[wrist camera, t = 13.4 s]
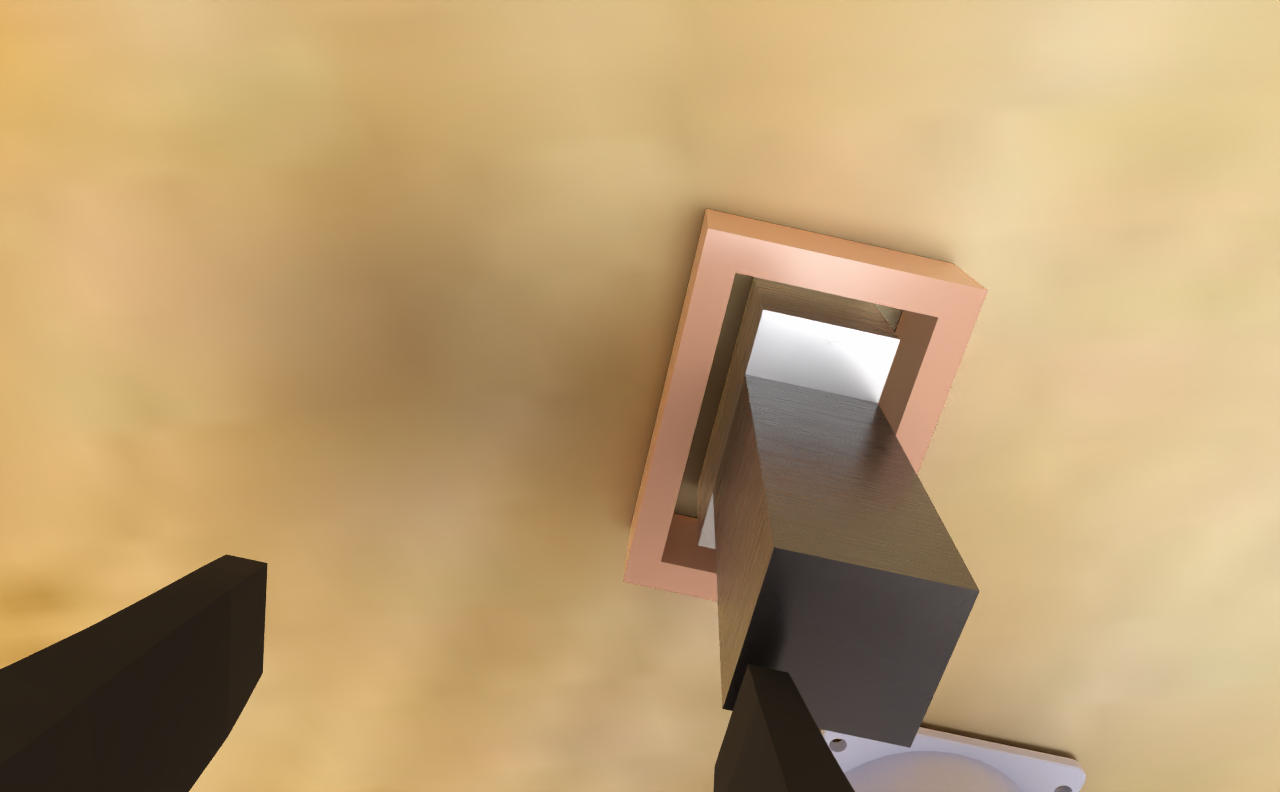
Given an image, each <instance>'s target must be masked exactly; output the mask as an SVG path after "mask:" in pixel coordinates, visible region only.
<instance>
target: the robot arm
mask: <svg viewBox="0 0 1280 792" xmlns="http://www.w3.org/2000/svg"><path fill="white" fill-rule="evenodd" d="M266 583H267V563H264V562H259V561H254V560H250V559H245V558H240V557H235V556H231V555H225V556H223V557H221V558H219V559H217V560H214V561H213V562H211V563H209V564H207V565H205V566H203V567H201V568H199V569H197V570H196V571H194V572H192V573H190V574H188V575H186V576H184V577H183V578H181V579H179V580H177V581H175V582H173V583H172V584H170V585H168V586H166V587H164V588H162V589H161V590H159V591H157V592H155V593H153V594H151V595H149V596H148V597H146V598H144V599H142V600H140V601H138V602H136V603H134V604H132V605H131V606H129V607H127V608H125V609H123V610H121V611H119V612H117V613H115V614H113V615H111V616H110V617H108V618H106V619H104V620H102V621H100V622H98V623H96V624H94V625H92V626H90V627H88V628H86V629H84V630H82V631H80V632H78V633H76V634H74V635H72V636H70V637H68V638H66V639H63V640H61V641H59V642H57V643H55V644H53V645H51V646H49V647H47V648H45V649H43V650H40V651H38V652H36V653H34V654H32V655H30V656H28V657H26V658H24V659H22V660H20V661H17V662H15V663H13V664H11V665H9V666H7V667H4V668H2V669H0V792H189V791H190V789H191V788H192V786H193V785H194V784H195V782H196V781H197V779H198V778H199V777H200V775H201V774H202V772H203V771H204V770H205V768H206V767H207V765H208V764H209V763H210V761H211V760H212V758H213V757H214V755H215V754H216V753H217V751H218V750H219V748H220V747H221V745H222V744H223V743H224V741H225V740H226V738H227V737H228V735H229V733H230V732H231V730H232V728H233V726H234V725H235V723H236V721H237V719H238V718H239V716H240V714H241V712H242V710H243V709H244V707H245V705H246V703H247V701H248V699H249V698H250V696H251V694H252V692H253V690H254V688H255V686H256V684H257V682H258V681H259V679H260V677H261V675H262V673H263V653H264V629H265V606H266ZM834 739H843V740H841V741H839V742H832V740H834ZM1085 780H1086V774H1085V772H1084V770H1083V768H1082V766H1081V764H1080V763H1079V762H1078V761H1076V760H1073V759H1070V758H1065V757H1061V756H1056V755H1051V754H1046V753H1042V752H1037V751H1032V750H1027V749H1022V748H1018V747H1013V746H1008V745H1003V744H999V743H994V742H989V741H984V740H979V739H975V738H970V737H965V736H960V735H955V734H951V733H946V732H941V731H936V730H932V729H927V728H922V727H919V729H918V732H917V734H916V736H915V739H914V741H913V743H912V745H911V748H908V747H904V746H899V745H894V744H889V743H884V742H880V741H875V740H870V739H865V738H861V737H856V736H851V735H846V734H841V733H837V732H832V731H827V730H821V732H820V730H819V728H818V726H817V724H816V722H815V721H814V719H813V717H812V715H811V713H810V711H809V709H808V707H807V706H806V704H805V702H804V700H803V698H802V696H801V694H800V692H799V690H798V688H797V687H796V685H795V683H794V681H793V679H792V678H791V676H790V674H789V673H788V672H783V671H779V670H774V669H769V668H764V667H760V666H755V665H750V664H748V666H747V669H746V672H745V675H744V678H743V681H742V684H741V687H740V690H739V694H738V697H737V700H736V703H735V706H734V709H733V712H732V715H731V718H730V721H729V724H728V727H727V731H726V734H725V737H724V740H723V743H722V746H721V749H720V752H719V755H718V758H717V761H716V764H715V774H714V792H1080V790H1081V788H1082V787H1083V785H1084V783H1085ZM1060 786H1063V787H1060ZM1057 787H1060V788H1057Z"/></svg>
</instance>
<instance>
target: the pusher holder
mask: <svg viewBox="0 0 1280 792" xmlns="http://www.w3.org/2000/svg"><path fill="white" fill-rule="evenodd" d="M735 273H739V274H744V275H748V276H753V277H757V278H762V279H766V280H771V281H775V282H780V283H784V284H789V285H793V286H798V287H802V288H807V289H811V290H816V291H821V292H825V293H830V294H834V295H839V296H843V297H848V298H852V299H857V300H861V301H866V302H870V303H875V304H879V305H884V306H888V307H893V308H897V309H902V310H903V311H902V314H901V317H900V320H899V323H898V326H897V329H896V332H895V333H896V335H897V336H898V337H899V339H900V342H899V345H898V348H897V350H896V353H895V356H894V359H893V362H892V365H891V368H890V371H889V373H888V376H887V379H886V382H885V385H884V388H883V391H882V394H881V396H880V399H879V402H878V404H879V405H880V407H881V409H882V411H883V413H884V415H885V417H886V418H887V420H888V422H889V424H890V426H891V428H892V430H893V431H894V433H895V435H896V437H897V439H898V441H899V443H900V444H901V446H902V448H903V450H904V452H905V454H906V456H907V457H908V459H909V461H910V463H911V465H912V467H913V469H914V470H915V472H916V474H917V475H918V472H919V469H920V467H921V464H922V461H923V459H924V456H925V454H926V451H927V448H928V446H929V443H930V441H931V438H932V435H933V433H934V430H935V427H936V425H937V422H938V420H939V417H940V414H941V412H942V409H943V406H944V404H945V401H946V399H947V396H948V393H949V391H950V388H951V385H952V383H953V380H954V378H955V375H956V372H957V370H958V367H959V364H960V362H961V359H962V357H963V354H964V351H965V349H966V346H967V343H968V341H969V338H970V336H971V333H972V330H973V328H974V325H975V323H976V320H977V317H978V315H979V312H980V309H981V307H982V304H983V302H984V299H985V296H986V294H987V291H988V290H987V289H985V288H984V287H983V286H982V285H980V284H979V283H978V282H976V281H975V280H974V279H973V278H971V277H970V276H969V275H967V274H966V273H965V272H964V271H962V270H961V269H960V268H958V267H957V266H956V265H955V264H953V263H948V262H944V261H939V260H935V259H930V258H926V257H921V256H917V255H912V254H908V253H903V252H899V251H894V250H890V249H885V248H881V247H876V246H872V245H867V244H863V243H858V242H854V241H849V240H845V239H840V238H836V237H831V236H827V235H822V234H818V233H813V232H809V231H804V230H800V229H795V228H791V227H786V226H782V225H777V224H773V223H768V222H764V221H759V220H755V219H750V218H746V217H741V216H737V215H732V214H728V213H723V212H719V211H714V210H710V209H706V212H705V216H704V220H703V225H702V229H701V233H700V237H699V241H698V246H697V250H696V254H695V258H694V262H693V267H692V271H691V275H690V279H689V284H688V288H687V292H686V296H685V300H684V305H683V309H682V313H681V317H680V321H679V326H678V330H677V334H676V338H675V342H674V347H673V351H672V355H671V359H670V363H669V368H668V372H667V376H666V380H665V385H664V389H663V393H662V397H661V401H660V406H659V410H658V414H657V418H656V422H655V427H654V431H653V435H652V439H651V443H650V448H649V452H648V456H647V460H646V464H645V469H644V473H643V477H642V481H641V486H640V490H639V494H638V498H637V502H636V507H635V511H634V515H633V519H632V523H631V528H630V533H629V541H628V548H627V556H626V563H625V571H624V578H623V582H628V583H633V584H637V585H642V586H647V587H652V588H656V589H661V590H666V591H670V592H675V593H680V594H685V595H689V596H694V597H699V598H704V599H708V600H713V601H718V595H717V573H716V550H715V549H712V548H708V547H703V546H698V519H697V518H693V517H688V516H683V515H679V514H674V509H675V505H676V501H677V497H678V493H679V489H680V486H681V482H682V478H683V474H684V470H685V466H686V462H687V459H688V455H689V451H690V447H691V443H692V439H693V435H694V431H695V428H696V424H697V420H698V416H699V412H700V408H701V404H702V401H703V397H704V393H705V389H706V385H707V381H708V377H709V374H710V370H711V366H712V362H713V358H714V354H715V350H716V346H717V343H718V339H719V335H720V331H721V327H722V323H723V319H724V316H725V312H726V308H727V304H728V300H729V296H730V292H731V288H732V285H733V281H734V277H735Z"/></svg>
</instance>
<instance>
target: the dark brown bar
mask: <svg viewBox="0 0 1280 792" xmlns="http://www.w3.org/2000/svg"><path fill="white" fill-rule="evenodd" d="M899 342H900V339H899V337H898V336H897V335H896V333H895V332H894V331H893V329H892V328H891V327H890V325H889V324H888V323H887V321H886V320H885V319H884V317H883V316H882V314H881V313H880V312H879V310H878V309H877V308H876V306H875V305H874V304H873V303H870V302H866V301H861V300H857V299H852V298H848V297H843V296H839V295H834V294H830V293H825V292H821V291H816V290H811V289H807V288H802V287H798V286H793V285H789V284H784V283H780V282H775V281H771V280H766V279H762V278H757V277H753V281H752V284H751V288H750V292H749V295H748V299H747V303H746V307H745V310H744V314H743V318H742V322H741V325H740V329H739V333H738V337H737V340H736V344H735V348H734V351H733V355H732V359H731V363H730V366H729V370H728V374H727V378H726V381H725V385H724V389H723V393H722V396H721V400H720V404H719V407H718V411H717V415H716V419H715V422H714V426H713V430H712V434H711V437H710V441H709V445H708V449H707V452H706V456H705V460H704V464H703V467H702V471H701V475H700V478H699V482H698V486H697V492H698V546H703V547H708V548H712V549H715V550H716V573H717V595H718V617H719V640H720V662H721V684H722V707H723V709H726V710H731V711H733V709H734V706H735V703H736V700H737V697H738V694H739V690H740V687H741V684H742V681H743V678H744V675H745V672H746V669H747V666H748V664H750V665H755V666H760V667H764V668H769V669H774V670H779V671H783V672H788V673H789V674H790V676H791V678H792V679H793V681H794V683H795V685H796V687H797V688H798V690H799V692H800V694H801V696H802V698H803V700H804V702H805V704H806V706H807V707H808V709H809V711H810V713H811V715H812V717H813V719H814V721H815V722H816V724H817V726H818V728H819V729H822V730H827V731H832V732H837V733H841V734H846V735H851V736H856V737H861V738H865V739H870V740H875V741H880V742H884V743H889V744H894V745H899V746H904V747H908V748H911V745H912V743H913V741H914V739H915V736H916V734H917V732H918V729H919V727H920V725H921V723H922V720H923V718H924V716H925V714H926V711H927V709H928V707H929V705H930V702H931V700H932V698H933V695H934V693H935V691H936V689H937V686H938V684H939V682H940V680H941V677H942V675H943V673H944V671H945V668H946V666H947V664H948V661H949V659H950V657H951V655H952V652H953V650H954V648H955V646H956V643H957V641H958V639H959V637H960V634H961V632H962V630H963V627H964V625H965V623H966V621H967V618H968V616H969V614H970V612H971V609H972V607H973V605H974V603H975V600H976V598H977V596H978V593H979V589H978V587H977V585H976V584H975V582H974V580H973V578H972V576H971V574H970V572H969V571H968V569H967V567H966V565H965V563H964V561H963V559H962V558H961V556H960V554H959V552H958V550H957V548H956V546H955V545H954V543H953V541H952V539H951V537H950V535H949V533H948V532H947V530H946V528H945V526H944V524H943V522H942V520H941V519H940V517H939V515H938V513H937V511H936V509H935V507H934V506H933V504H932V502H931V500H930V498H929V496H928V494H927V493H926V491H925V489H924V487H923V485H922V483H921V481H920V480H919V478H918V476H917V474H916V472H915V470H914V469H913V467H912V465H911V463H910V461H909V459H908V457H907V456H906V454H905V452H904V450H903V448H902V446H901V444H900V443H899V441H898V439H897V437H896V435H895V433H894V431H893V430H892V428H891V426H890V424H889V422H888V420H887V418H886V417H885V415H884V413H883V411H882V409H881V407H880V405H879V404H878V402H879V399H880V396H881V394H882V391H883V388H884V385H885V382H886V379H887V376H888V373H889V371H890V368H891V365H892V362H893V359H894V356H895V353H896V350H897V348H898V345H899Z"/></svg>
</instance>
